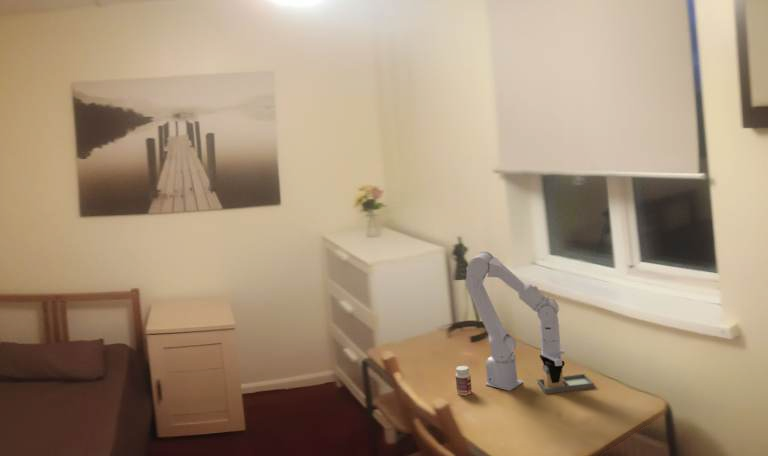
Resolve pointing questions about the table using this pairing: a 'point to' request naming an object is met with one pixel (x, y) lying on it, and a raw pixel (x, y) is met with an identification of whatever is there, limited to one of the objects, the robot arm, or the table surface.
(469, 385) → the pill bottle
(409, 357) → the table surface
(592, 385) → the gray divided rectangular frame
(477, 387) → the table surface
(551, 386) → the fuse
